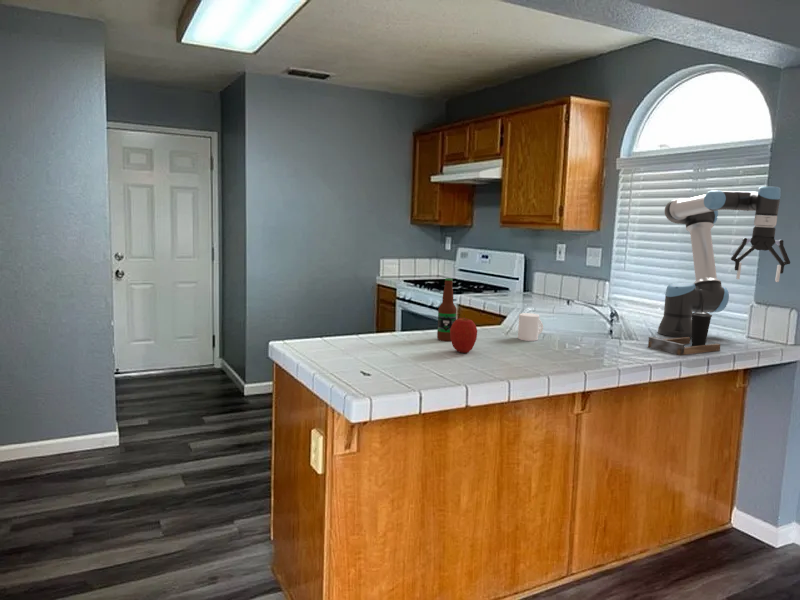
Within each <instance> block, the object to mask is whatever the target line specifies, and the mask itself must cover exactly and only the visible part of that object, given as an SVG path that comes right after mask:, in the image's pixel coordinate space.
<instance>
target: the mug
mask: <svg viewBox="0 0 800 600" xmlns="http://www.w3.org/2000/svg"><path fill="white" fill-rule="evenodd" d="M543 330H544V324H543V322H542V320H541V319H540V314H538V313H531V312H530V313H529V312H528V313H527V312H523V313H519V314H518V331H517V339H518V340H520V341H527V342H528V341H529V342H534V341H538V339H539V335H541V333H542V332H543Z"/></svg>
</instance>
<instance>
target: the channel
mask: <svg viewBox="0 0 800 600" xmlns="http://www.w3.org/2000/svg"><path fill="white" fill-rule="evenodd" d="M690 343H691V337H673V338H665V339H662V338H657V337H654V336H649V337H648V343H647V347H648V348H650V347H651V348H650V349H654V348H655V350H658V349H659V350H658V351H663V352H666V353H671V354H675V355H678V356H684V355H692V354H693V355H694V354H700V353H701V354H702V353H709V352H719V351H721V343H710V344H705V345H700V346H692V345H691V346H685V345H687V344H690Z"/></svg>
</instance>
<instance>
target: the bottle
mask: <svg viewBox="0 0 800 600" xmlns="http://www.w3.org/2000/svg"><path fill="white" fill-rule="evenodd" d="M453 280H454V279H453V278H448V277H447V278H445V279H444V283H443V284H444V287H443V288H444V289H443V291H442V292H443V293H442V302H441V304H439V307H438V309H437V312H438V313H437V331H436V332H437V333H436V334H437V335H436V337H437V339H438V341H440V340H441V341H442V342H451V339H450V329H451V326H452V324H453V322H454V321H455V320H457V307H456V305H455V303H454V288H453Z"/></svg>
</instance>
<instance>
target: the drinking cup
mask: <svg viewBox="0 0 800 600" xmlns="http://www.w3.org/2000/svg"><path fill="white" fill-rule="evenodd" d="M703 306H704V299H702V307H701V311H698V312H692V313H691V315H692V337H691V346H700V345H706V343H707V340H708V339H707V338H708V333H709V328H710V323H711V320H712V318H713V314H711V313H709V312H703Z"/></svg>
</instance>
